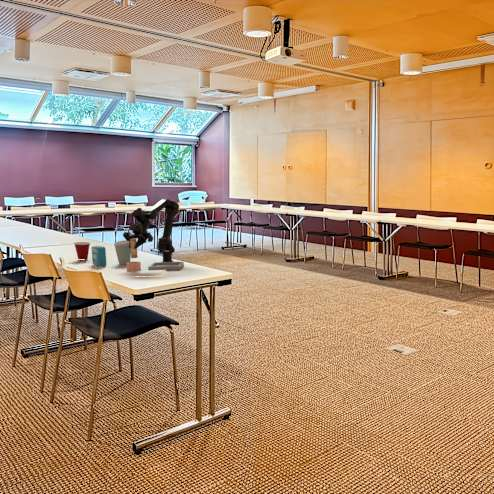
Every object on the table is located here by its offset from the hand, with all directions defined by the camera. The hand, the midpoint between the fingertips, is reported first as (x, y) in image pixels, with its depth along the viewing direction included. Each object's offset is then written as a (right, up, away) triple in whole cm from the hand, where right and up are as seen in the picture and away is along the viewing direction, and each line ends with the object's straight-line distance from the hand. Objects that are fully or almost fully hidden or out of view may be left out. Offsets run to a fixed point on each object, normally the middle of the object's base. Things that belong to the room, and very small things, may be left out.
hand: (132, 248), depth 314 cm
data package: (-27, -11, +28) cm, 40 cm away
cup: (0, -13, +3) cm, 14 cm away
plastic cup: (-44, -8, +54) cm, 70 cm away
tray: (+19, -12, +8) cm, 24 cm away
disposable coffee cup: (-11, -11, +26) cm, 30 cm away
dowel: (+1, -6, +2) cm, 6 cm away
